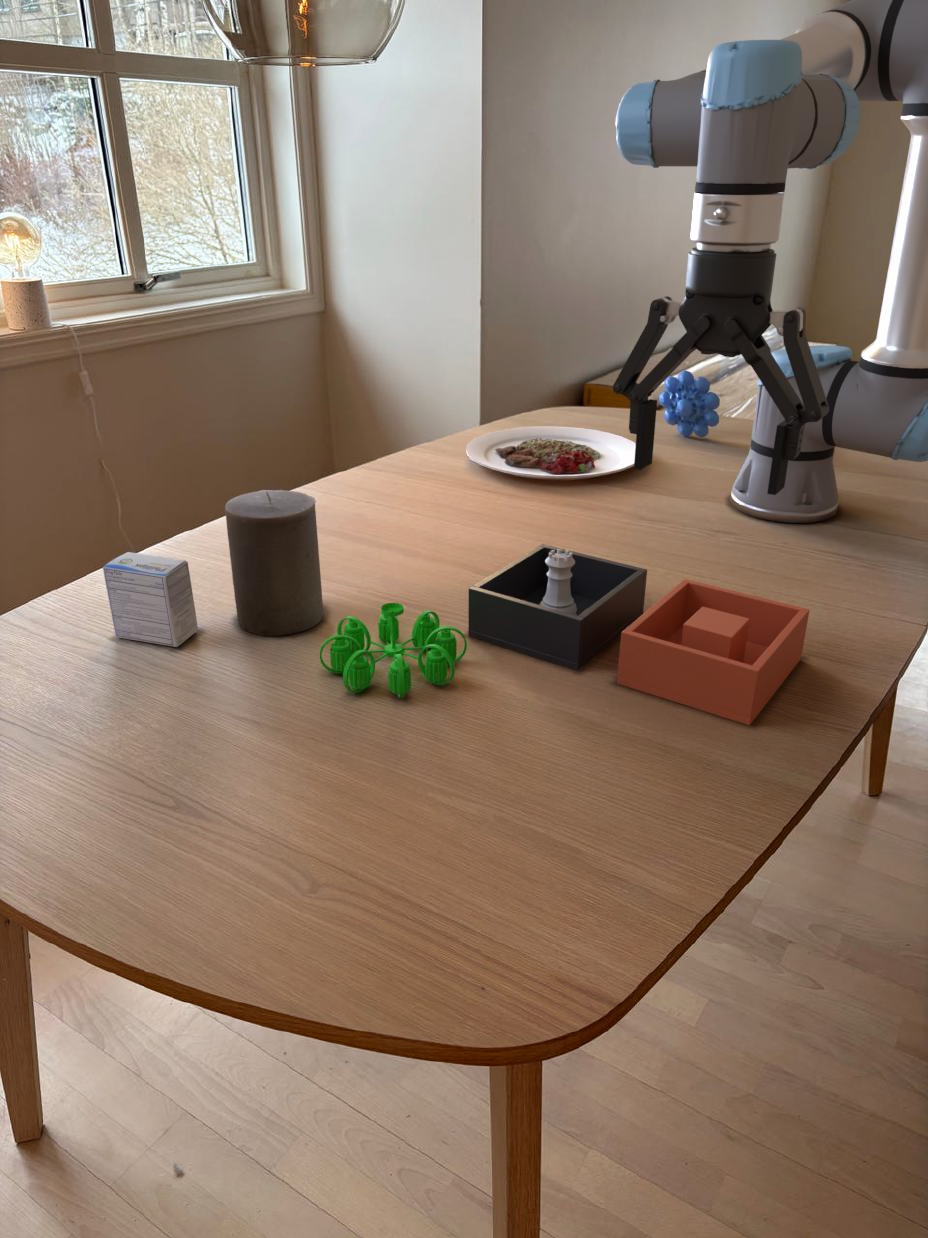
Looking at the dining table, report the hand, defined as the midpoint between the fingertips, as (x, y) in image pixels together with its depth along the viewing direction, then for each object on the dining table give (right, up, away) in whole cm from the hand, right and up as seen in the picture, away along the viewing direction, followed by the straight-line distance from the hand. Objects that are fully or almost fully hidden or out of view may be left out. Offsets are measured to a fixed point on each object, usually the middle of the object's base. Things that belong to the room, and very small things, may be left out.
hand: (706, 478), depth 93 cm
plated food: (-9, +13, +70) cm, 72 cm away
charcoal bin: (-13, -15, +13) cm, 24 cm away
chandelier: (-31, -19, +5) cm, 37 cm away
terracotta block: (+1, -18, +4) cm, 19 cm away
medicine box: (-57, -16, +11) cm, 61 cm away
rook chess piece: (-13, -14, +13) cm, 23 cm away
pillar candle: (-45, -14, +15) cm, 49 cm away
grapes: (+17, +20, +83) cm, 87 cm away
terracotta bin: (+1, -19, +4) cm, 20 cm away
